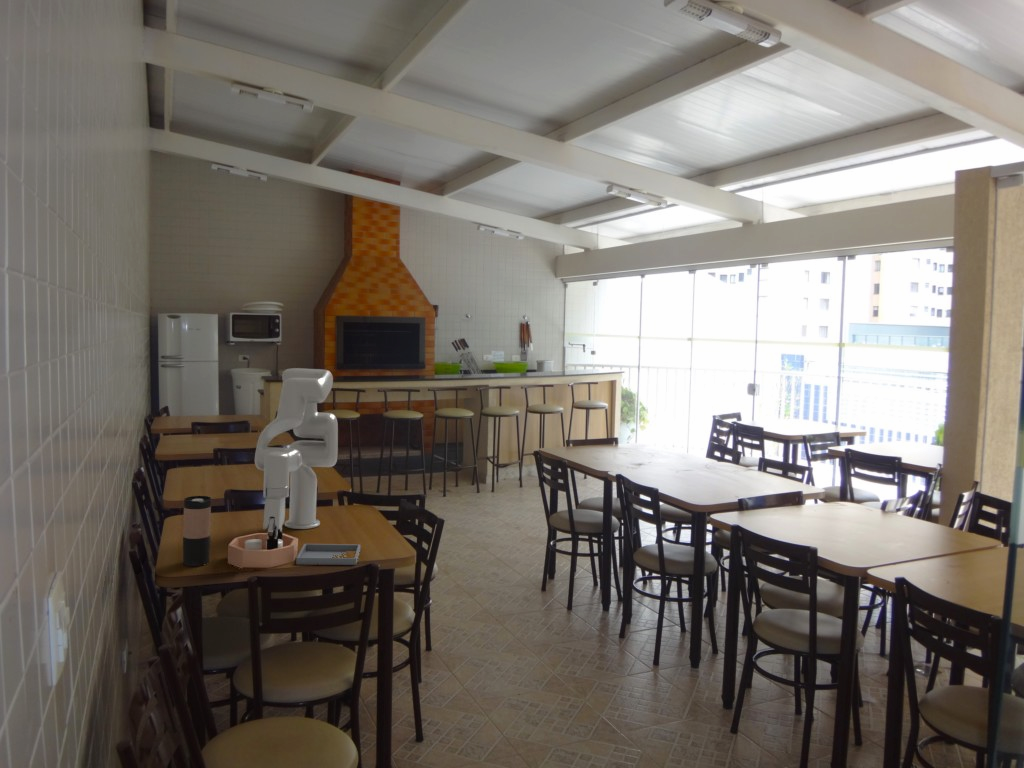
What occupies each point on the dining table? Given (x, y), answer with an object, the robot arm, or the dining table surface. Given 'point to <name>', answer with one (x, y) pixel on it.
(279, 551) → the bowl
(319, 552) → the parts tray
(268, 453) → the robot arm
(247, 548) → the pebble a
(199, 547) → the travel mug
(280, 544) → the pebble
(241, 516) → the dining table surface
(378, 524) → the dining table surface
